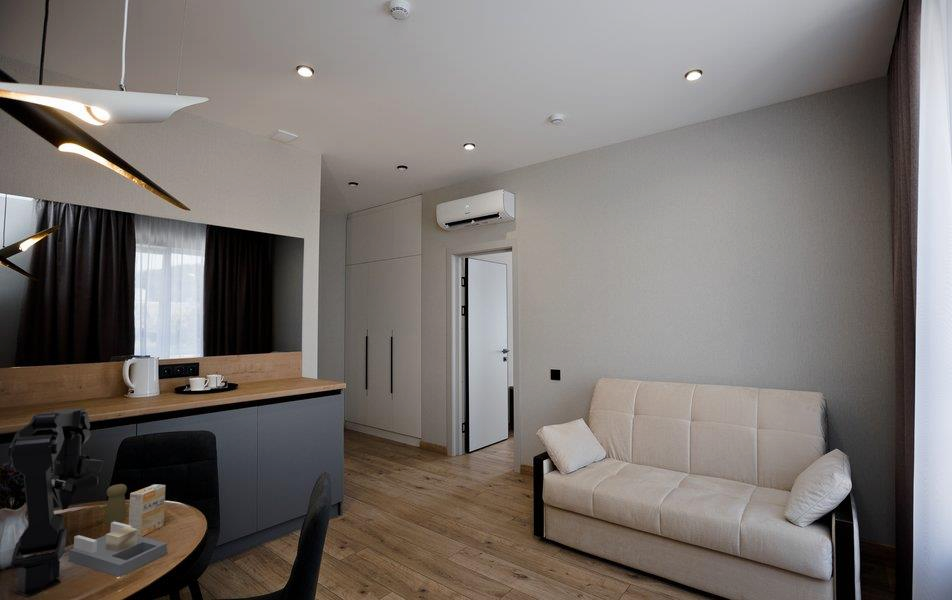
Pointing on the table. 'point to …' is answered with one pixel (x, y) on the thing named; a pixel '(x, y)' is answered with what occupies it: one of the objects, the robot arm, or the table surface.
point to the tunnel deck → (115, 553)
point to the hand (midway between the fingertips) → (64, 509)
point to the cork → (116, 504)
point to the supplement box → (147, 509)
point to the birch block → (121, 539)
